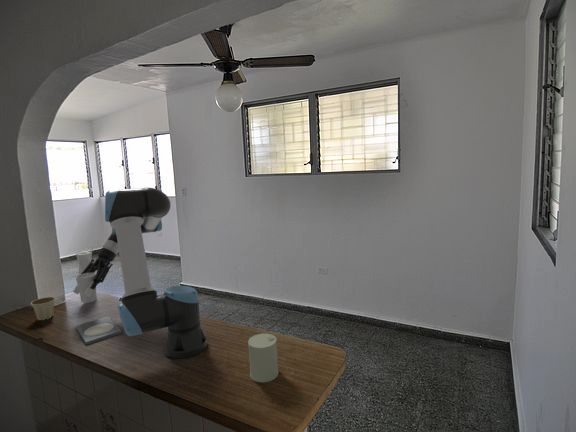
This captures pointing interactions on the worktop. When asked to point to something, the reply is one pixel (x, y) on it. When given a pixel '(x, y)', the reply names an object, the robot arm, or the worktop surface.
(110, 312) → the worktop surface
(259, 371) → the can
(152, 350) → the worktop surface
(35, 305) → the flower pot
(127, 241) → the robot arm
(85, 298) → the cup
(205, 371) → the worktop surface
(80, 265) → the skyscraper
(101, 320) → the board
